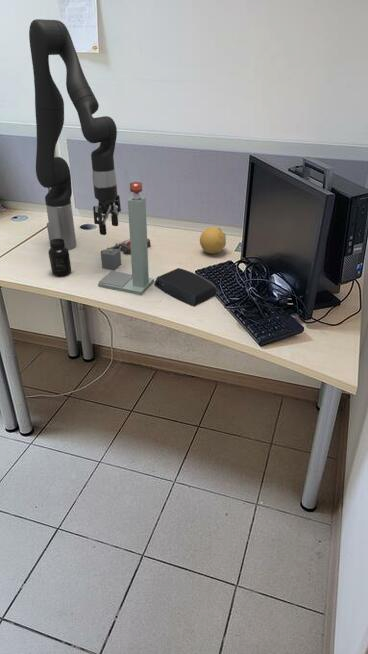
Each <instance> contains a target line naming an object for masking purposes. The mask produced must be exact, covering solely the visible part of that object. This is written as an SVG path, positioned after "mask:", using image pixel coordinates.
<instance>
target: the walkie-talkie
mask: <svg viewBox="0 0 368 654" xmlns="http://www.w3.org/2000/svg"><path fill="white" fill-rule="evenodd" d="M110 248H113V249H118V250H120V252H122V253H123V254H124V255H130V256H131V247H130V238H129V239H126V240H123V241H119V242H117V243H115V245H114V246H110ZM147 248H151V239H150V238H147ZM106 249H107V248H106ZM106 249H102V250H101V251H100V254H101V253H102V252H103V251H104V250H106Z"/></svg>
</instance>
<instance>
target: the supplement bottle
mask: <svg viewBox="0 0 368 654" xmlns="http://www.w3.org/2000/svg"><path fill="white" fill-rule="evenodd" d="M69 250H70V249H69ZM69 250H68V248H67V247H65V243H64V240H63V239H53V240H51V241H49V249H48V258H49V263H50V265H49V266H50V269H51V274H52V275H53V276H55V277H58V278H59V277H60V278H61V277H66V276H69V275H70V274H71V273H72V264H71V257H70V251H69Z"/></svg>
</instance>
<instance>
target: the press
mask: <svg viewBox="0 0 368 654" xmlns="http://www.w3.org/2000/svg"><path fill="white" fill-rule="evenodd" d="M146 202H147V200H146V197H143V196H140V200H134V195H133V196H132V197H130V198H128V199H127V209H128V211H127V212H128V229H129V239H130V247H131V255H130V262H131V273H127V272H126V273H125V272H120V271H117V270H115V271H114V270H110V271H109V272H108V273H107V274H106V275H105V276H104V277H102V278H101V279H100V280H99V281H98V282H97V286H98V287H100V288H104V289H109V290H113V291H117V292H123V293H127V294H128V293H129V294H133V295H137V296H142V295H143V294H144V293H145V292H146V291H147V290H148V289H149V288H150V287H151V286H152V285H153V284H154V283H155V279H154V278H152V277H149V255H148V253H149V249H148V248H147V239H148V226H147V225H148V223H147V203H146Z"/></svg>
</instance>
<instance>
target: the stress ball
mask: <svg viewBox="0 0 368 654" xmlns="http://www.w3.org/2000/svg"><path fill="white" fill-rule="evenodd" d="M226 237H227V236H226V234H225V233H224V231H223V230H222V229H221V228H220V227H215V226H214V227H213V226H211V227H207V228H206V229H204V230H203V231H202V232H201V234H200V237H199V245H200V247H201V249H202V250H203V251H204V252H206V253H208V254H211V255H215V254H217V253H220V252H221V251H222V250H224V248H225V247H226V244H227V241H226V240H227V238H226Z"/></svg>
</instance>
